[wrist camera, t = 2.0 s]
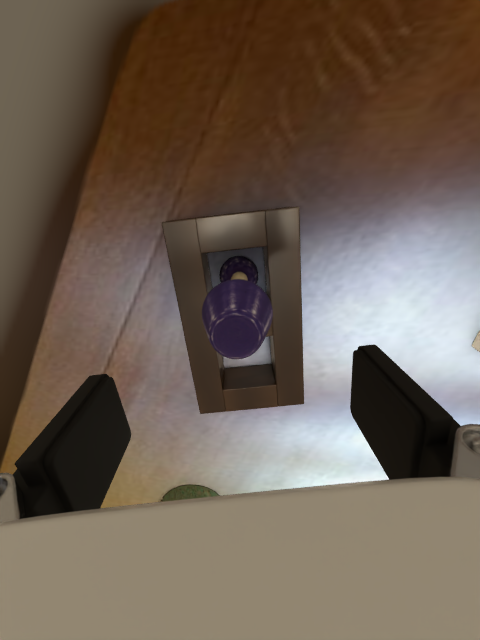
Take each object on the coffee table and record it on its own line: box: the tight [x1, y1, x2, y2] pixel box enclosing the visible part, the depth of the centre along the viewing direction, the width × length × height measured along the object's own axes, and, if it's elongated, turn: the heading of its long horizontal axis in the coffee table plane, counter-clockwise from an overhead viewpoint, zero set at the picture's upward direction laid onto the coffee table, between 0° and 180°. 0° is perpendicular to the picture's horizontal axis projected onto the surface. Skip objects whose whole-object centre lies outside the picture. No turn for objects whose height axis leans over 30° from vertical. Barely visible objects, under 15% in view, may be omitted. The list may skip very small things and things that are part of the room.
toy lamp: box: [202, 256, 273, 359], centre depth 22 cm, size 5×5×17 cm
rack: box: [162, 207, 304, 414], centre depth 30 cm, size 12×21×4 cm, turn 6°
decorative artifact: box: [162, 485, 219, 502], centre depth 41 cm, size 10×7×10 cm
